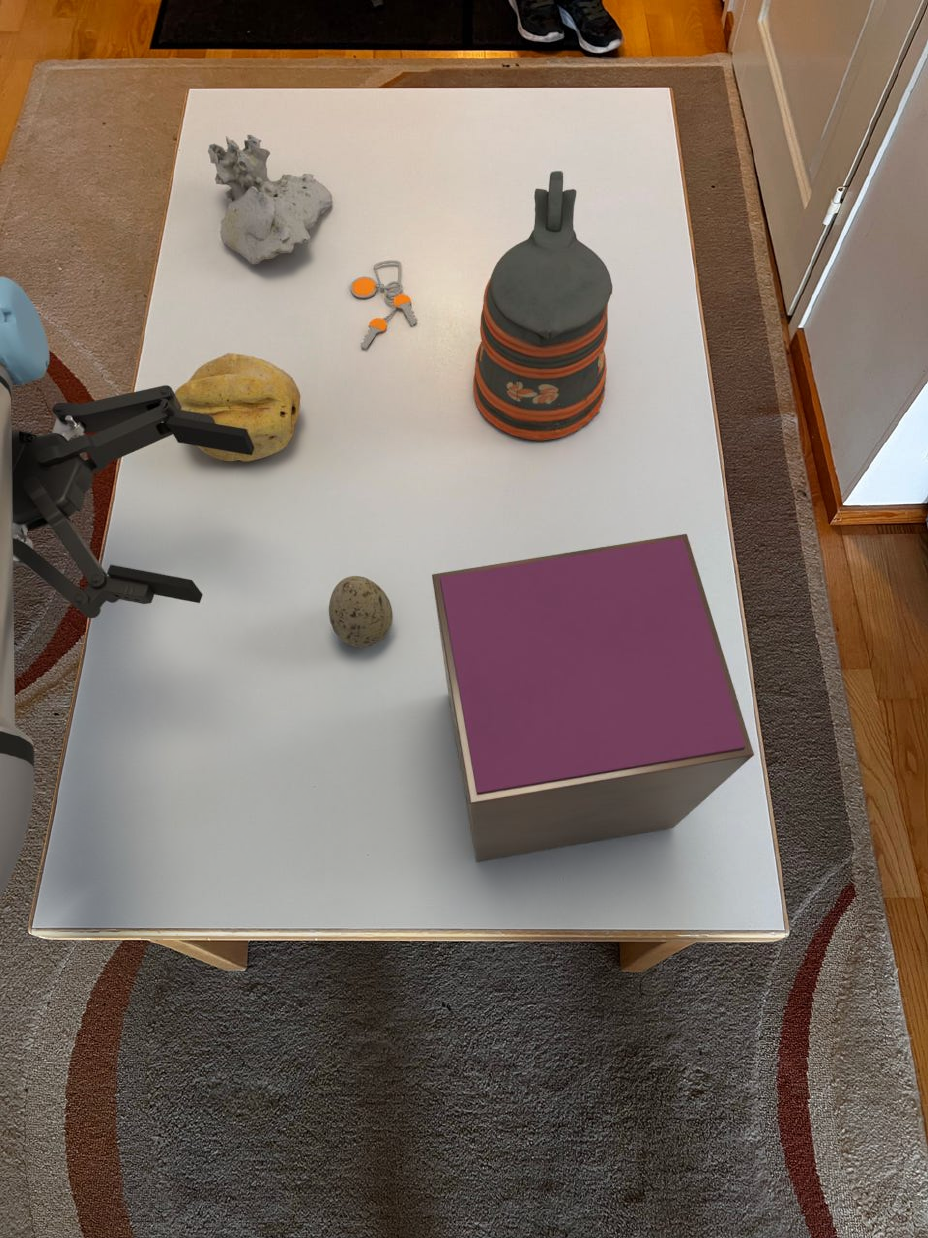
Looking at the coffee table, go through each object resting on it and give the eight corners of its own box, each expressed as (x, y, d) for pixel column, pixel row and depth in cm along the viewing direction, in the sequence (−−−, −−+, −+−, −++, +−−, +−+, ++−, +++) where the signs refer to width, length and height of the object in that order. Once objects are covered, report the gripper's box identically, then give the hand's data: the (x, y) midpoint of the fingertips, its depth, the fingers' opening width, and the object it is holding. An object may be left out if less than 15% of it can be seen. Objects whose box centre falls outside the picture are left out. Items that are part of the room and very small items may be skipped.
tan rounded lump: (184, 468, 95) (151, 412, 86) (200, 392, 99) (170, 330, 90) (300, 471, 94) (280, 415, 85) (311, 394, 98) (293, 332, 89)
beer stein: (474, 308, 103) (470, 158, 84) (599, 306, 102) (623, 155, 84) (472, 442, 95) (468, 310, 77) (607, 442, 95) (635, 309, 76)
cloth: (476, 794, 54) (476, 793, 53) (440, 579, 60) (439, 576, 59) (744, 748, 54) (746, 747, 54) (681, 540, 60) (683, 537, 60)
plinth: (476, 862, 77) (470, 803, 54) (448, 693, 84) (431, 573, 60) (673, 828, 78) (754, 755, 54) (631, 663, 84) (687, 533, 61)
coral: (240, 197, 114) (211, 120, 106) (340, 188, 112) (317, 108, 103) (209, 280, 105) (173, 203, 97) (316, 271, 103) (289, 191, 94)
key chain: (348, 268, 105) (347, 262, 105) (408, 260, 106) (407, 255, 105) (357, 350, 100) (356, 345, 99) (420, 342, 100) (420, 337, 100)
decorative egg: (362, 669, 85) (346, 630, 76) (324, 628, 87) (304, 584, 78) (408, 631, 86) (398, 588, 77) (370, 591, 88) (356, 544, 79)
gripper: (54, 374, 79) (279, 412, 77) (-64, 626, 70) (187, 677, 67) (12, 316, 72) (258, 356, 70) (-125, 587, 63) (153, 642, 60)
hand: (224, 514), depth 68 cm, fingers open, 13 cm apart
